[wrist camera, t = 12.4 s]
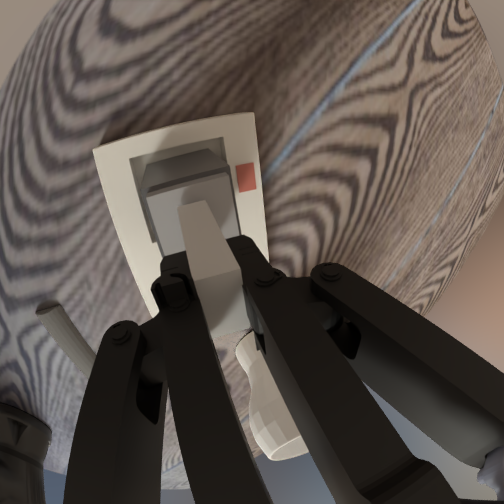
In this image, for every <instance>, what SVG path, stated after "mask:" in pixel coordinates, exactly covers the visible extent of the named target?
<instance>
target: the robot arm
mask: <svg viewBox="0 0 504 504" xmlns="http://www.w3.org/2000/svg"><path fill="white" fill-rule="evenodd" d="M177 209H178V215H179V220H180V225H181V230H182V235H183V239H184V244H185V249H186V250H185V251H182V252H178V253H174V254H170V255H167V256H164V257H163V259H162V261H161V263H160V272H161V273H160V274H161V276H160V277H158V278H157V279H156V280H155V281H154V282H153V283H152V285H151V289H150V290H151V292H152V295H153V297H154V299H155V302H156V304H157V306H158V309H159V312H158V314H157V315H156V316H155V317H154V318H152V319H151V320H149V321H147V322H146V323H144V324H142V325H140V326H138V324H137V323H135V322H133V321H129V320H125V321H120V322H117V323H115V324H114V325H112V326H111V327H110V328H109V329H108V330H107V331H106V332H105V334H104V336H103V338H102V341H101V344H100V347H99V350H98V352H97V355H96V358H95V361H94V364H93V367H92V371H91V374H90V377H89V380H88V383H87V387H86V390H85V394H84V397H83V401H82V405H81V408H80V412H79V416H78V420H77V424H76V429H75V433H74V438H73V442H72V447H71V452H70V458H69V463H68V469H67V476H66V483H65V491H64V500H63V504H160V491H161V466H162V449H163V435H164V423H165V412H166V403H167V393H168V389H169V395H170V401H171V406H172V412H173V417H174V422H175V427H176V432H177V436H178V441H179V445H180V450H181V454H182V458H183V462H184V466H185V470H186V473H187V477H188V481H189V484H190V488H191V491H192V494H193V498H194V501H195V504H273V501H272V499H271V497H270V495H269V492H268V490H267V488H266V486H265V484H264V481H263V479H262V476H261V474H260V471H259V469H258V467H257V464H256V462H255V459H254V457H253V454H252V452H251V449H250V447H249V444H248V442H247V439H246V436H245V434H244V431H243V428H242V426H241V423H240V420H239V418H238V415H237V412H236V409H235V406H234V404H233V401H232V398H231V395H230V392H229V389H228V386H227V383H226V380H225V377H224V374H223V371H222V368H221V365H220V362H219V359H218V355H217V352H216V349H215V346H214V343H213V340H212V339H214V338H218V337H221V336H225V335H228V334H232V333H235V332H238V331H242V330H245V329H248V328H250V323H251V325H252V327H253V331H254V337H255V343H256V349H257V351H258V350H260V351H261V353H262V355H263V358H264V360H265V362H266V364H267V366H268V368H269V370H270V373H271V375H272V377H273V379H274V381H275V383H276V385H277V387H278V390H279V392H280V394H281V396H282V398H283V400H284V402H285V404H286V406H287V408H288V410H289V412H290V414H291V416H292V418H293V420H294V422H295V424H296V426H297V428H298V430H299V432H300V434H301V436H302V438H303V440H304V442H305V444H306V446H307V448H308V450H309V452H310V454H311V456H312V458H313V460H314V462H315V464H316V466H317V468H318V469H319V471H320V473H321V475H322V477H323V479H324V481H325V483H326V485H327V487H328V488H329V490H330V492H331V494H332V496H333V498H334V500H335V502H336V504H504V373H502V372H501V371H499V370H498V369H497V368H495V367H494V366H493V365H491V364H490V363H489V362H487V361H486V360H484V359H483V358H482V357H480V356H479V355H478V354H476V353H475V352H473V351H472V350H471V349H469V348H468V347H466V346H465V345H463V344H462V343H461V342H459V341H458V340H456V339H455V338H454V337H452V336H451V335H449V334H448V333H446V332H445V331H443V330H442V329H441V328H439V327H438V326H436V325H435V324H433V323H432V322H430V321H429V320H427V319H425V318H424V317H423V316H421V315H420V314H418V313H417V312H415V311H414V310H412V309H411V308H409V307H408V306H406V305H405V304H403V303H402V302H400V301H398V300H397V299H395V298H394V297H392V296H391V295H389V294H388V293H386V292H384V291H383V290H381V289H380V288H378V287H377V286H375V285H373V284H372V283H370V282H369V281H367V280H366V279H364V278H362V277H361V276H359V275H358V274H356V273H354V272H353V271H351V270H349V269H348V268H346V267H345V266H342V265H340V264H338V263H331V262H330V263H322V264H319V265H317V266H315V267H314V268H313V269H312V271H311V273H310V277H299V278H291V277H287V276H286V275H285V274H284V273H283V272H282V271H281V270H278V269H275V268H272V267H271V265H270V264H269V262H268V261H267V259H266V258H265V257H264V255H263V254H262V252H261V251H260V249H259V248H258V247H257V246H256V244H255V242H254V241H253V239H252V238H250V237H248V236H246V235H244V234H243V235H239V236H235V237H231V238H228V239H225V238H224V236H223V234H222V232H221V230H220V228H219V226H218V224H217V222H216V220H215V218H214V216H213V214H212V212H211V210H210V208H209V206H208V204H207V202H206V200H203V201H198V202H194V203H190V204H186V205H182V206H179V207H177ZM249 321H250V322H249ZM361 380H362V381H363V382H364V383H366V384H367V385H368V386H369V387H370V388H371V389H372V390H373V391H375V392H376V393H377V394H378V395H379V396H380V397H382V398H383V399H384V400H385V401H386V402H388V403H389V404H390V405H391V406H392V407H393V408H395V409H396V410H397V411H398V412H399V413H401V414H402V415H403V416H404V417H405V418H407V419H408V420H409V421H410V422H411V423H413V424H414V425H415V426H416V427H417V428H419V429H420V430H421V431H422V432H423V433H425V434H426V435H427V436H428V437H430V438H431V439H432V440H433V441H434V442H436V443H437V444H438V445H439V446H441V447H442V448H443V449H444V450H446V451H447V452H448V453H449V454H451V455H452V456H454V457H455V458H457V459H458V460H459V461H461V462H463V463H465V464H467V465H470V466H472V467H476V468H479V469H480V471H479V472H478V475H477V480H478V482H479V483H480V484H485V483H486V485H487V486H489V487H491V488H492V489H494V490H495V492H496V493H497V501H490V500H489V501H488V500H471V499H460V498H458V497H457V496H456V494H455V493H454V491H453V490H452V488H451V487H450V485H449V484H448V482H447V481H446V479H445V478H444V476H443V475H442V473H441V472H440V471H439V470H438V468H437V467H436V466H435V465H433V464H432V463H430V462H429V461H425V460H421V459H418V458H417V457H415V456H414V455H413V454H412V453H411V452H410V450H409V449H408V448H407V446H406V445H405V443H404V441H403V440H402V438H401V437H400V435H399V434H398V433H397V431H396V430H395V428H394V427H393V425H392V424H391V422H390V421H389V420H388V418H387V417H386V415H385V414H384V412H383V411H382V409H381V408H380V407H379V405H378V404H377V402H376V401H375V399H374V398H373V396H372V395H371V394H370V392H369V391H368V389H367V388H366V386H365V385H364V384H363V382H362V381H361ZM51 440H52V433H51V431H50V429H49V428H48V427H47V426H46V425H45V424H43V423H42V422H41V421H39V420H38V419H36V418H34V417H33V416H31V415H29V414H27V413H25V412H23V411H21V410H19V409H16V408H14V407H11V406H9V405H5V404H2V403H0V504H46V502H45V491H44V477H43V462H44V460H45V457H46V454H47V451H48V447H49V446H50V445H51Z"/></svg>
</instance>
